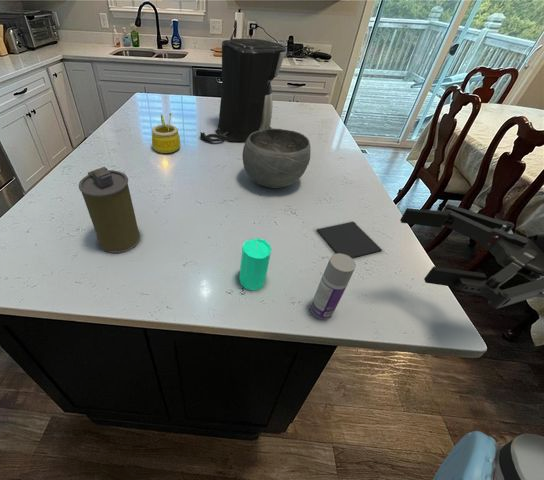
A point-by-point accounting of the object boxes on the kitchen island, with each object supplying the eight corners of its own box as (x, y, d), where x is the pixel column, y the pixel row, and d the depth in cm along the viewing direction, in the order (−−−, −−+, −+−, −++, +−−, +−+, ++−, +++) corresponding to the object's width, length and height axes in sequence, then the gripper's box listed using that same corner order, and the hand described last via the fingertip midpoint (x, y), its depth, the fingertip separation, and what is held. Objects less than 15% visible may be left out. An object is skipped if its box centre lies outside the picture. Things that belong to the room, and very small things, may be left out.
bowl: (313, 180, 102) (325, 138, 91) (281, 207, 89) (291, 162, 79) (263, 160, 111) (268, 120, 101) (228, 182, 99) (230, 139, 89)
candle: (265, 271, 70) (272, 234, 62) (264, 291, 66) (272, 254, 58) (240, 268, 71) (244, 231, 62) (238, 288, 66) (241, 250, 58)
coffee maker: (281, 130, 133) (296, 41, 110) (240, 155, 113) (248, 54, 90) (240, 117, 142) (246, 33, 119) (196, 138, 123) (193, 43, 100)
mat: (381, 251, 77) (381, 249, 76) (342, 261, 74) (342, 259, 73) (352, 223, 85) (353, 221, 84) (316, 230, 82) (317, 229, 81)
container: (332, 303, 64) (355, 255, 54) (332, 322, 61) (357, 274, 50) (310, 298, 65) (329, 250, 55) (309, 316, 61) (329, 268, 51)
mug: (174, 157, 111) (171, 125, 102) (147, 152, 113) (143, 120, 105) (187, 143, 120) (185, 113, 111) (163, 139, 122) (159, 109, 114)
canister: (148, 240, 77) (134, 172, 63) (111, 259, 71) (87, 189, 58) (126, 220, 82) (110, 154, 69) (91, 237, 77) (65, 168, 63)
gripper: (606, 352, 38) (429, 324, 40) (505, 226, 55) (387, 212, 58) (668, 320, 32) (460, 290, 35) (535, 193, 50) (404, 179, 53)
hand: (415, 241), depth 46 cm, fingers open, 13 cm apart
